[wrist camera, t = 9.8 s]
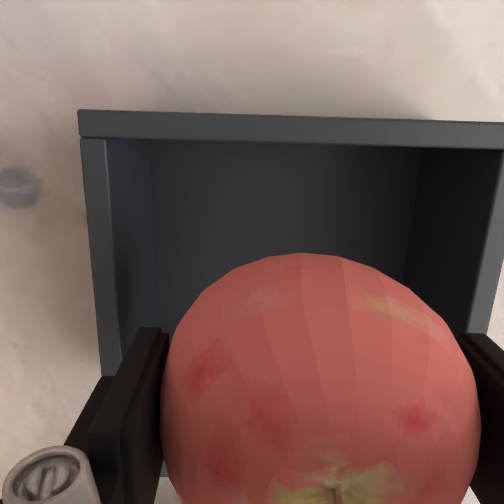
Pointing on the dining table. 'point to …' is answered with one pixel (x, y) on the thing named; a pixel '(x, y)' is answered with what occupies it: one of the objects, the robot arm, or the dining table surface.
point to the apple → (316, 391)
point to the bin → (285, 208)
